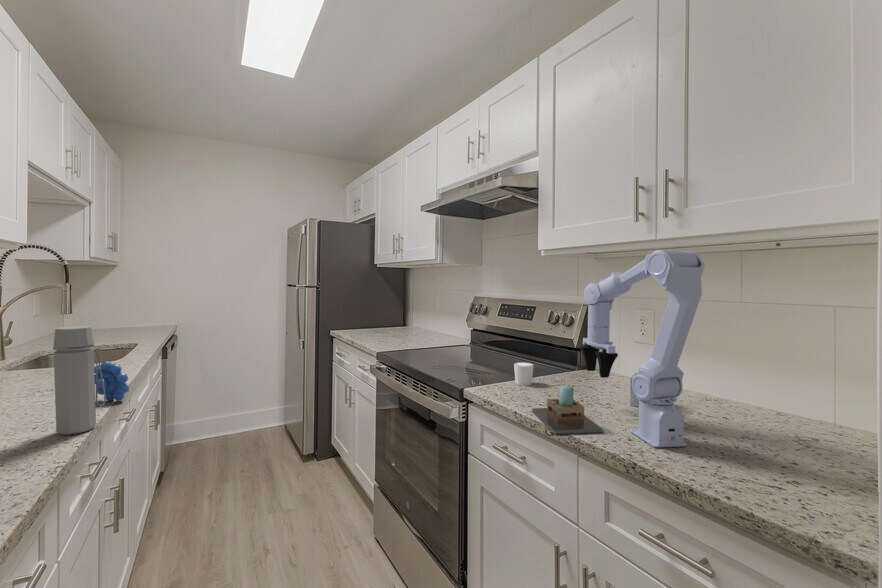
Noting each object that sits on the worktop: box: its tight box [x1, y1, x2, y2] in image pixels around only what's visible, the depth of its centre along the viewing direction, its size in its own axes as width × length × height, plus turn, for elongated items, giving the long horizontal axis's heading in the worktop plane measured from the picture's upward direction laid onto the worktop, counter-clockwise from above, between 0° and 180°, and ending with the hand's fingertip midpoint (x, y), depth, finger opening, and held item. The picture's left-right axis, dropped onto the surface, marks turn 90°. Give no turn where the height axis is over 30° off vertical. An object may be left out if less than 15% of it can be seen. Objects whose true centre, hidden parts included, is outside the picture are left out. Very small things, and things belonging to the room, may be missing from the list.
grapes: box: [94, 360, 130, 402], centre depth 116 cm, size 12×7×12 cm, turn 82°
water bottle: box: [52, 325, 106, 436], centre depth 95 cm, size 9×8×25 cm
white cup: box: [513, 361, 534, 387], centre depth 140 cm, size 7×7×7 cm
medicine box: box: [629, 372, 639, 408], centre depth 118 cm, size 8×4×9 cm, turn 143°
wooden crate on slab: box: [531, 398, 603, 435], centre depth 103 cm, size 16×12×5 cm
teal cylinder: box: [558, 385, 574, 416], centre depth 103 cm, size 4×4×8 cm
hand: (597, 373), depth 112 cm, fingers open, 7 cm apart
